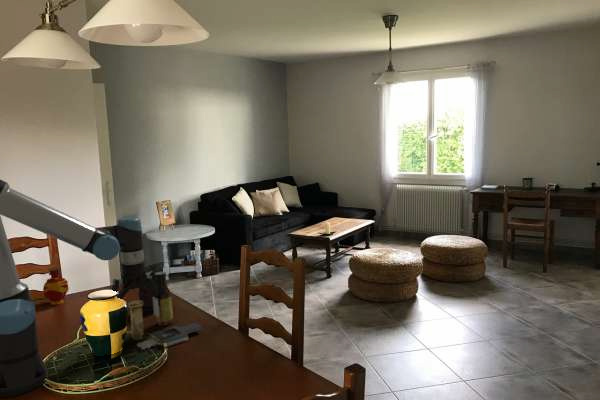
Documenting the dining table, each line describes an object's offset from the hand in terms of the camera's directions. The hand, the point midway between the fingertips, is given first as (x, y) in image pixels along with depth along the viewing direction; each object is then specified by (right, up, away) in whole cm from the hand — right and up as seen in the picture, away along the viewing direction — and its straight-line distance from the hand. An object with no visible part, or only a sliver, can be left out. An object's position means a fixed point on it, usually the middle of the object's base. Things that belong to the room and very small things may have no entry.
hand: (138, 320), depth 164 cm
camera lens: (-4, -3, +27) cm, 28 cm away
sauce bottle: (+5, -5, +14) cm, 15 cm away
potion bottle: (-49, -2, +39) cm, 63 cm away
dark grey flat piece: (+12, -6, -1) cm, 13 cm away
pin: (0, -6, +1) cm, 6 cm away
